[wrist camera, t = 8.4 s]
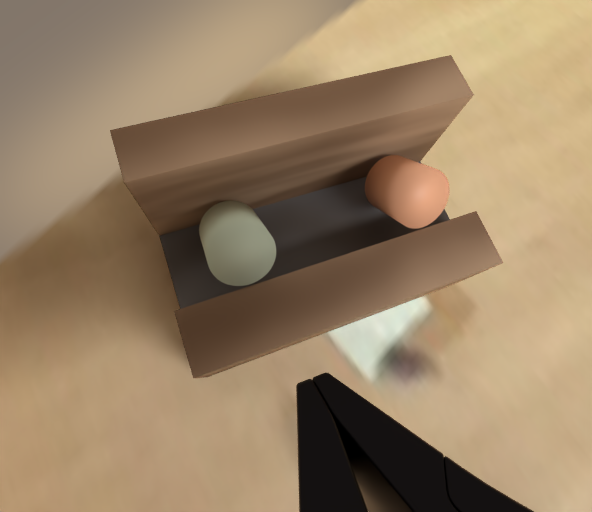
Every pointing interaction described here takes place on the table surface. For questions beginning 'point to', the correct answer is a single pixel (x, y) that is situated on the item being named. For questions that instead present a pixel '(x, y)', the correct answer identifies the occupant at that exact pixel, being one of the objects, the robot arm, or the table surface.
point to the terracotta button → (407, 190)
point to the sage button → (236, 243)
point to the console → (301, 207)
